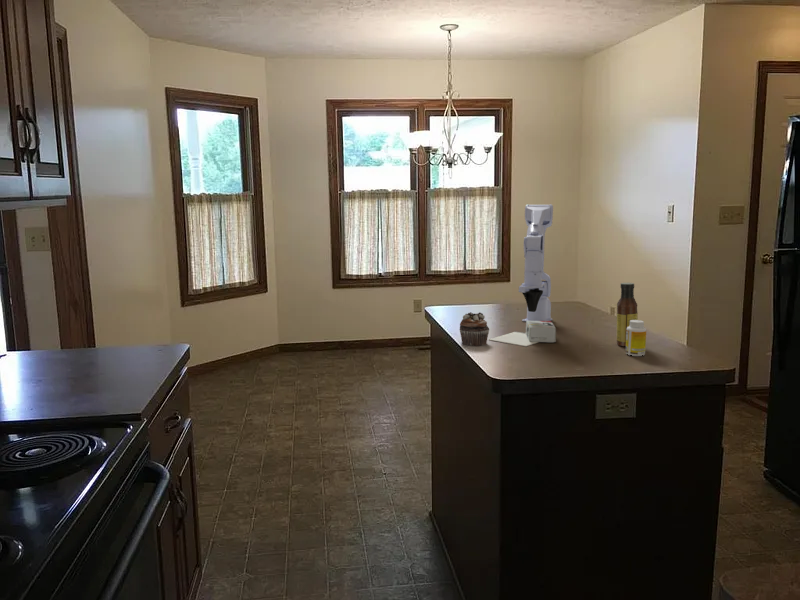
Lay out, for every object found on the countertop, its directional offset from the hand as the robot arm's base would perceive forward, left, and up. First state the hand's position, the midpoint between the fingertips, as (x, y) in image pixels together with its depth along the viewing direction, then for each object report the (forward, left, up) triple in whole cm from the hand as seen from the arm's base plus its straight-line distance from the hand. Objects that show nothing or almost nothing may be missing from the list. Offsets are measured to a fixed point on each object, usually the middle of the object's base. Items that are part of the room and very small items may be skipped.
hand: (532, 311), depth 218 cm
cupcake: (+22, -8, -9) cm, 25 cm away
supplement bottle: (+3, +37, -9) cm, 38 cm away
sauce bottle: (-7, +30, -9) cm, 32 cm away
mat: (+7, 0, -8) cm, 11 cm away
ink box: (-2, +1, -6) cm, 6 cm away
